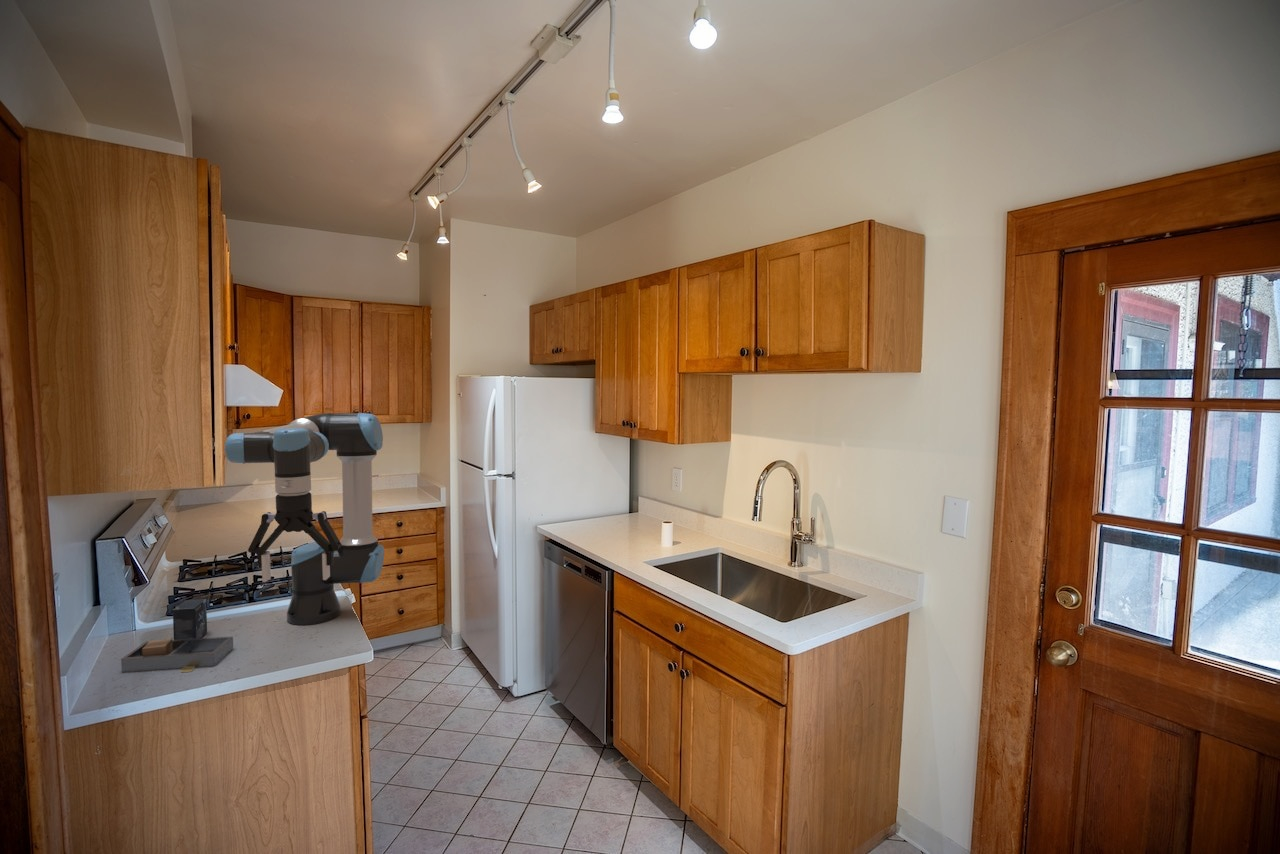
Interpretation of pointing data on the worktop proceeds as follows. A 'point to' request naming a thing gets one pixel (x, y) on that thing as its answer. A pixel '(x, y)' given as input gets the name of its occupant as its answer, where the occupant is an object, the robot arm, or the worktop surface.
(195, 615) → the box
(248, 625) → the worktop surface
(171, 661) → the tray
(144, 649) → the nut block
